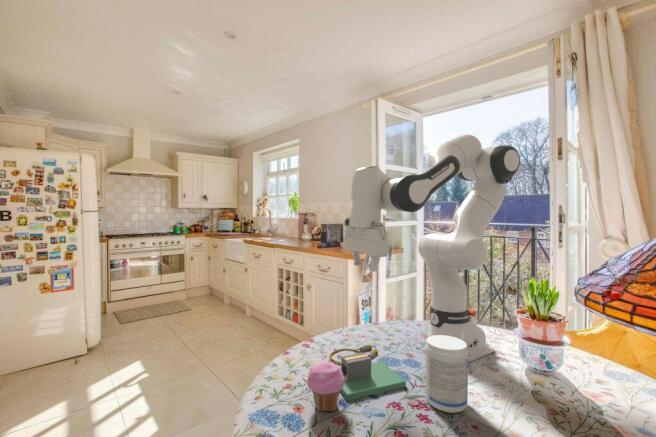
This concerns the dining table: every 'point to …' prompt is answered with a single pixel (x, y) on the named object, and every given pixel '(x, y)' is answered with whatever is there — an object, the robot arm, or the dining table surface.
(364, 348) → the extension cord
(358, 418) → the dining table surface
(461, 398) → the supplement tub
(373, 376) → the header board
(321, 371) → the cupcake
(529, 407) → the dining table surface
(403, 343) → the dining table surface
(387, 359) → the dining table surface
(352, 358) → the box
